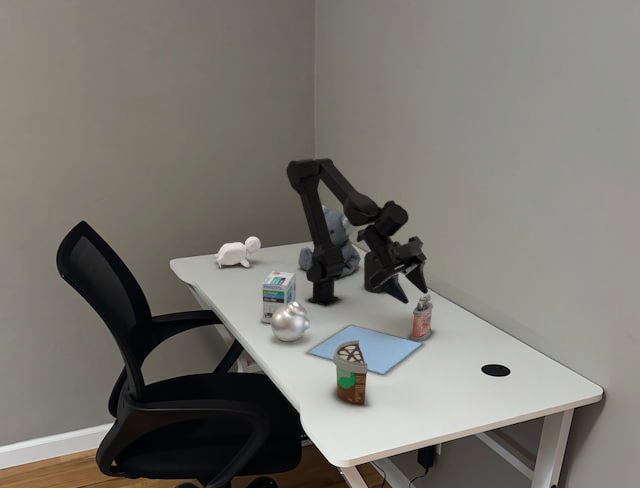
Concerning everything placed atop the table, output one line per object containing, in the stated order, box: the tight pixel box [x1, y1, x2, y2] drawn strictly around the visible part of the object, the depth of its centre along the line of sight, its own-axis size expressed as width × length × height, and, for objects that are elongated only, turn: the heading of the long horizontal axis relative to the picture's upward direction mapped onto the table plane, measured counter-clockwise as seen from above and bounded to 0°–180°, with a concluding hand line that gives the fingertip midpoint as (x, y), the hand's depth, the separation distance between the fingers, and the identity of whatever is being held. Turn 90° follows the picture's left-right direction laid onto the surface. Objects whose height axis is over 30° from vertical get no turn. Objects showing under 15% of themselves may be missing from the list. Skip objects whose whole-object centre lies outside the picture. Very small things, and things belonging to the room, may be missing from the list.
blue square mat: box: [308, 325, 422, 375], centre depth 168 cm, size 20×20×1 cm
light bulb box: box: [261, 270, 297, 324], centre depth 183 cm, size 11×7×11 cm, turn 168°
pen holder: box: [363, 250, 385, 294], centre depth 204 cm, size 9×9×10 cm
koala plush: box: [298, 204, 361, 278], centre depth 217 cm, size 17×18×20 cm
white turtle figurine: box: [214, 236, 262, 269], centre depth 224 cm, size 9×8×15 cm
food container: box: [332, 340, 368, 406], centre depth 145 cm, size 12×6×10 cm, turn 5°
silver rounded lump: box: [270, 300, 311, 342], centre depth 170 cm, size 9×10×10 cm
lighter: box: [410, 294, 434, 342], centre depth 173 cm, size 8×3×10 cm, turn 148°
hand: (417, 297), depth 172 cm, fingers open, 9 cm apart
